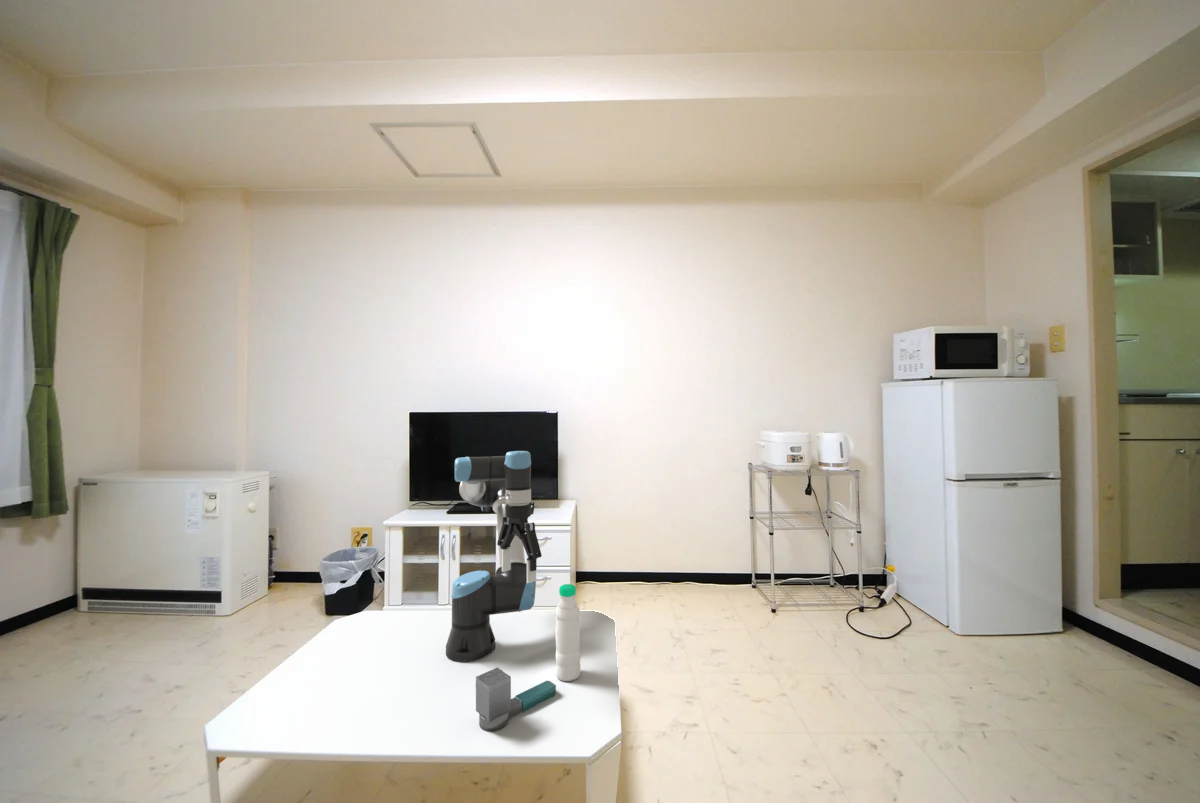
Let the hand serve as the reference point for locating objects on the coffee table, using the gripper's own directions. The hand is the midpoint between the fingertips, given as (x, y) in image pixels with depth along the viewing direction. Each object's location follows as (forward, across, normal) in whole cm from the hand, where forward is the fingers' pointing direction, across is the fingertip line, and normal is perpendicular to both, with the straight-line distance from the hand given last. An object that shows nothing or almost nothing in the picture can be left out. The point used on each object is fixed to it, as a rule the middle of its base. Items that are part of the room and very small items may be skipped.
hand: (518, 576), depth 134 cm
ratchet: (+27, +16, -10) cm, 33 cm away
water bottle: (+27, +13, +8) cm, 31 cm away
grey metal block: (+24, +16, -17) cm, 34 cm away
